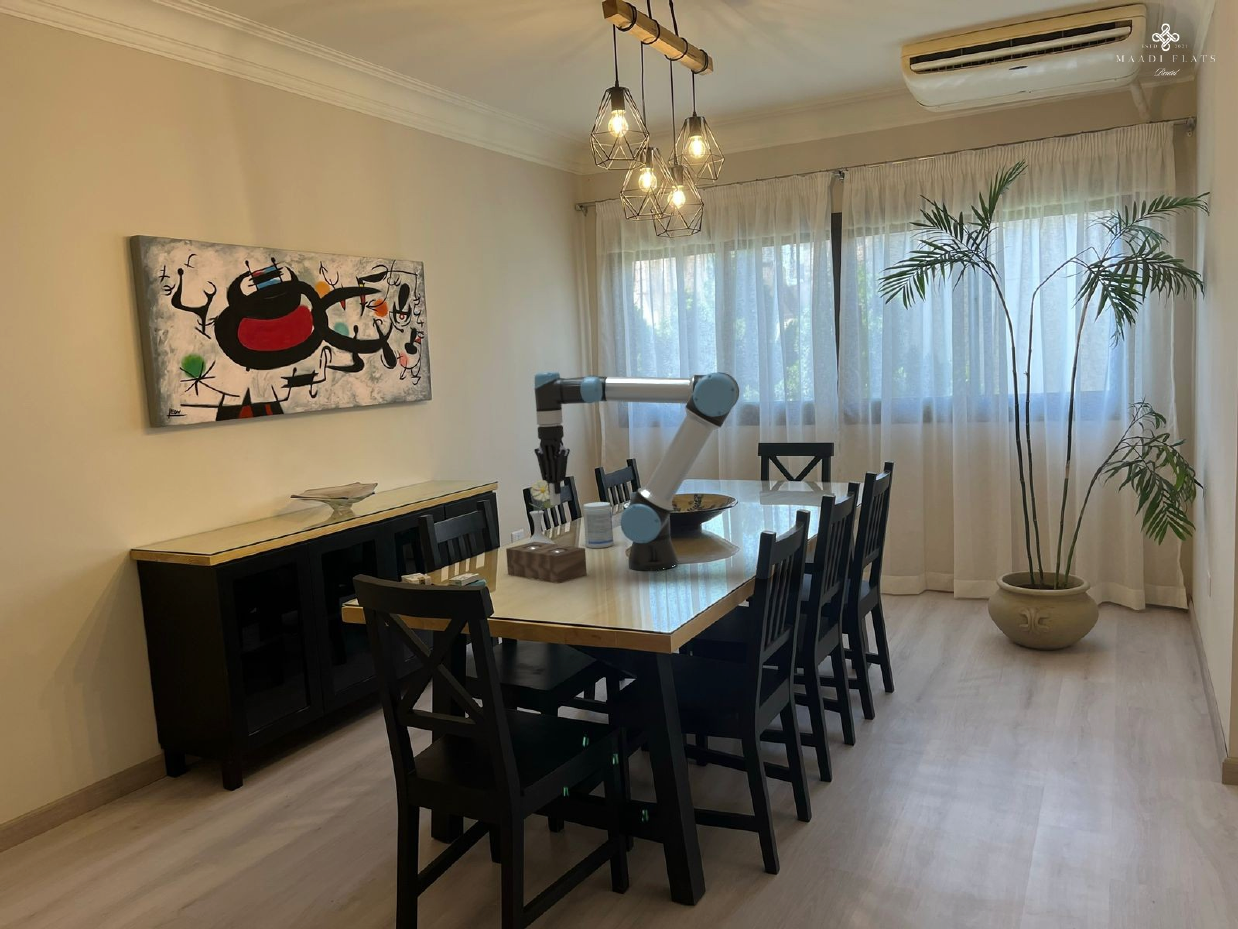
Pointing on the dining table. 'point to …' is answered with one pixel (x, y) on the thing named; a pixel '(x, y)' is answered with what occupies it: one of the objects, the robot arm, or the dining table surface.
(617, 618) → the dining table surface
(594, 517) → the supplement tub
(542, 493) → the flower in vase
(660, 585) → the dining table surface
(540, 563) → the block
